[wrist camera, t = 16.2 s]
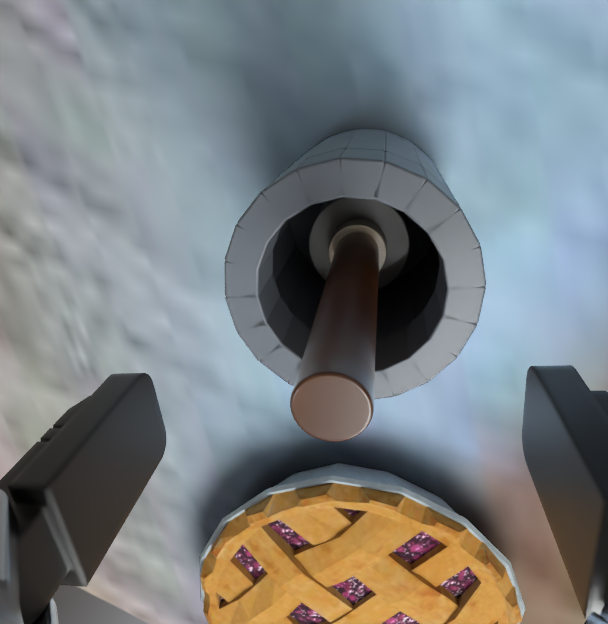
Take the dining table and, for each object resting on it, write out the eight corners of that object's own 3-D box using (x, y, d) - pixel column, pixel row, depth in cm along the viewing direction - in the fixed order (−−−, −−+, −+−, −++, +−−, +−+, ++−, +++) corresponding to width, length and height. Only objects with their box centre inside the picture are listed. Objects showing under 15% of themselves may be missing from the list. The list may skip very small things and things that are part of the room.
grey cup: (252, 222, 28) (178, 300, 18) (355, 89, 24) (334, 94, 14) (369, 318, 29) (360, 440, 19) (483, 206, 26) (544, 284, 16)
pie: (163, 560, 40) (135, 620, 36) (326, 387, 31) (316, 439, 27) (375, 691, 43) (374, 762, 39) (580, 568, 34) (610, 641, 30)
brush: (304, 222, 27) (193, 409, 11) (359, 155, 25) (317, 272, 10) (366, 274, 27) (341, 517, 12) (424, 213, 26) (482, 408, 10)
